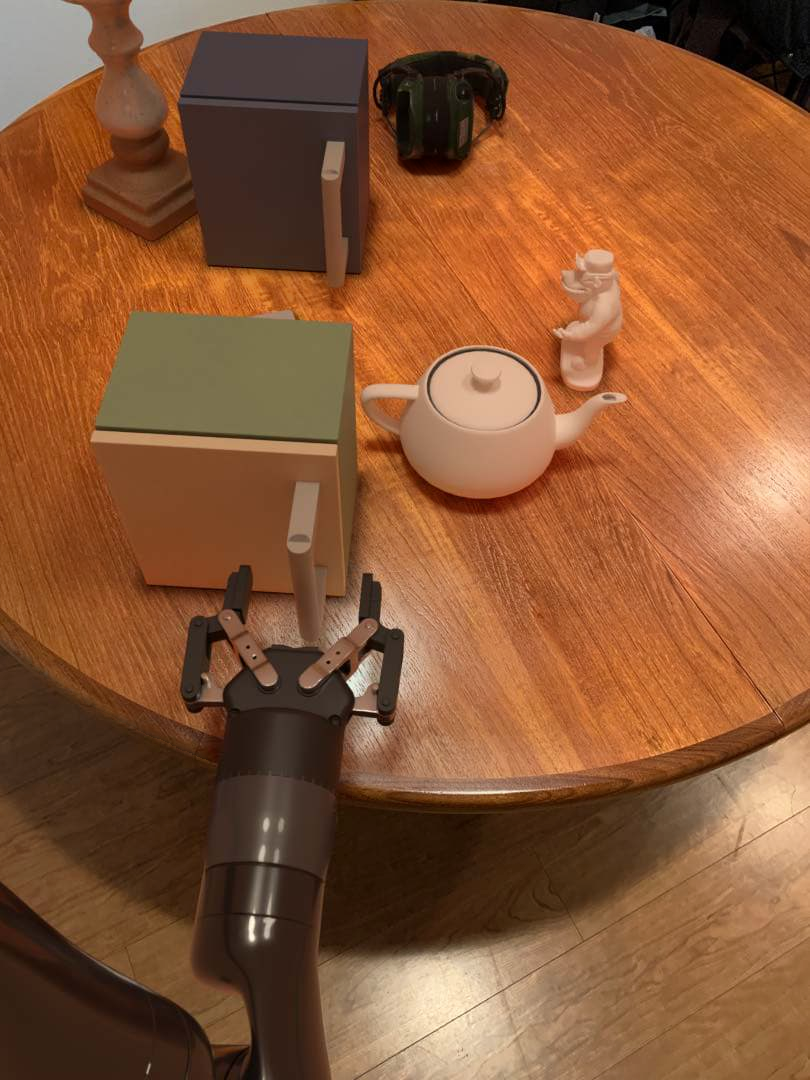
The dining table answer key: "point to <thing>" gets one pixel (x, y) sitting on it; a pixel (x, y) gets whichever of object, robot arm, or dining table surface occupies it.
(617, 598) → the dining table surface
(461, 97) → the headphones
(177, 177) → the candle holder
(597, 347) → the figurine
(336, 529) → the peach cabinet door
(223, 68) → the dark purple boxy piece
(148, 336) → the green-topped cabinet
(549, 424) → the teapot
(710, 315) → the dining table surface
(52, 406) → the dining table surface
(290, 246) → the dark cabinet door
